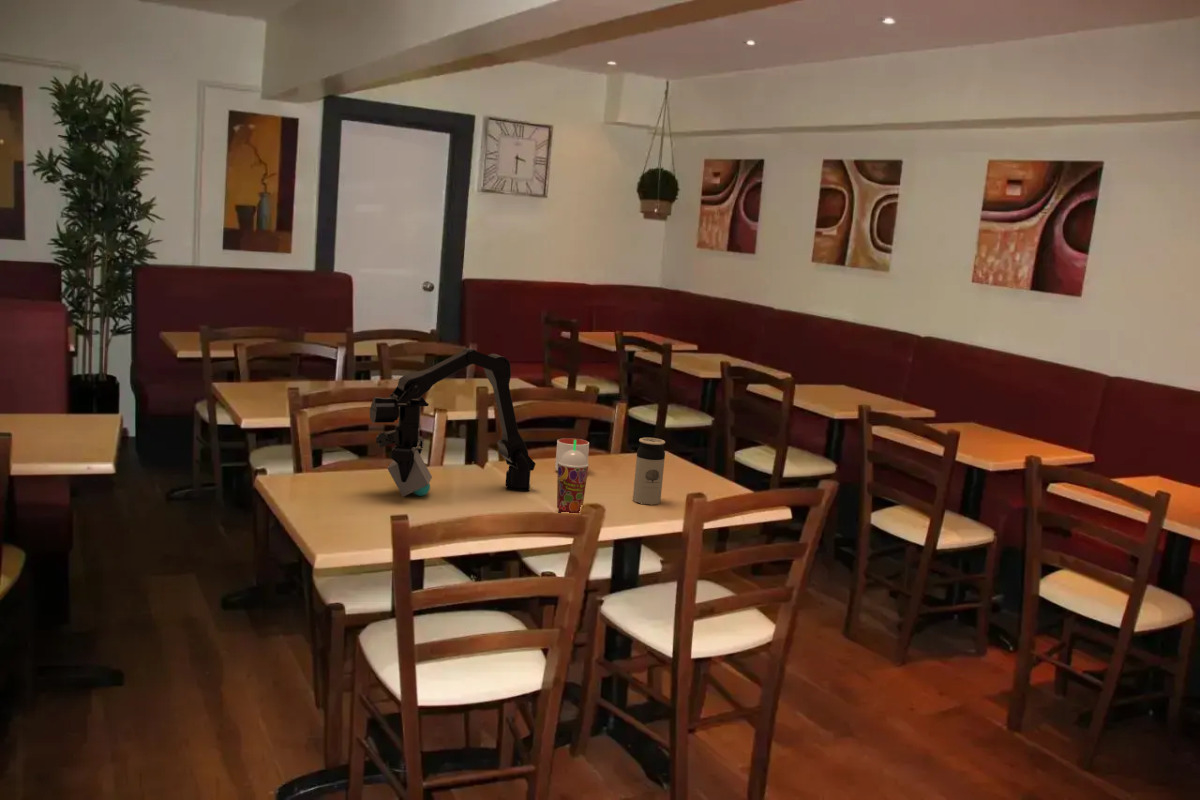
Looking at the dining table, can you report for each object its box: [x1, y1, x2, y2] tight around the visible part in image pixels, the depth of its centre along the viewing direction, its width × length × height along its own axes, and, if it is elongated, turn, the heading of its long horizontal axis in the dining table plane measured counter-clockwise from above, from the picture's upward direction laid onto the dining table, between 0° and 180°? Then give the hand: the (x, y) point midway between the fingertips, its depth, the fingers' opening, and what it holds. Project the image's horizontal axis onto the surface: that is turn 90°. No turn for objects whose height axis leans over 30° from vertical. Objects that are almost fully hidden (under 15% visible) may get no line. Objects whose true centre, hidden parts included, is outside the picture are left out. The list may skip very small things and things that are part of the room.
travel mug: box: [632, 437, 666, 505], centre depth 290 cm, size 8×8×18 cm
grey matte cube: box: [387, 450, 433, 498], centre depth 276 cm, size 8×8×9 cm
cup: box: [554, 437, 590, 472], centre depth 318 cm, size 10×10×10 cm
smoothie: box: [556, 440, 590, 513], centre depth 271 cm, size 8×8×20 cm
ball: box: [412, 483, 431, 497], centre depth 277 cm, size 5×5×5 cm
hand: (406, 478), depth 276 cm, fingers closed on grey matte cube, 8 cm apart
